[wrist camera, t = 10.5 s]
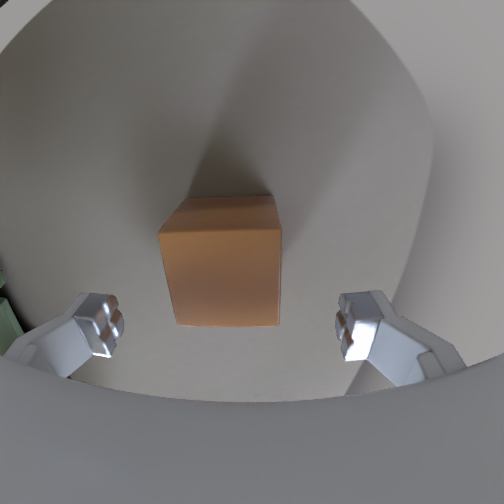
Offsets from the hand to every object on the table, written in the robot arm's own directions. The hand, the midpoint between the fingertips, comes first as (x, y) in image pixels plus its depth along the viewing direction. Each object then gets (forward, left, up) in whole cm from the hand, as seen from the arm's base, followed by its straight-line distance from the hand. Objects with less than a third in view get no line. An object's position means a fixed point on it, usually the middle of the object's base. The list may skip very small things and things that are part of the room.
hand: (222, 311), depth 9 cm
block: (0, 0, -6) cm, 6 cm away
